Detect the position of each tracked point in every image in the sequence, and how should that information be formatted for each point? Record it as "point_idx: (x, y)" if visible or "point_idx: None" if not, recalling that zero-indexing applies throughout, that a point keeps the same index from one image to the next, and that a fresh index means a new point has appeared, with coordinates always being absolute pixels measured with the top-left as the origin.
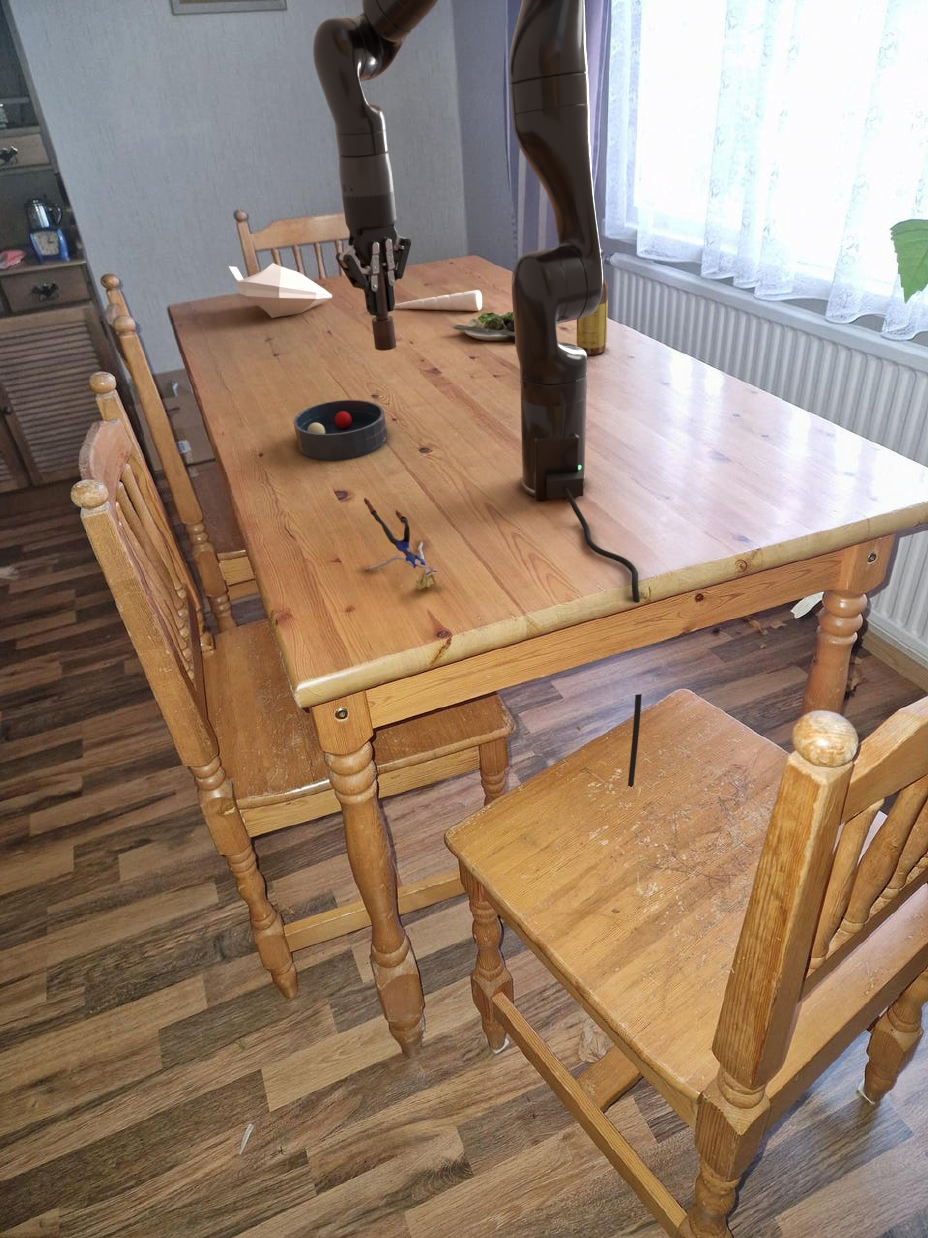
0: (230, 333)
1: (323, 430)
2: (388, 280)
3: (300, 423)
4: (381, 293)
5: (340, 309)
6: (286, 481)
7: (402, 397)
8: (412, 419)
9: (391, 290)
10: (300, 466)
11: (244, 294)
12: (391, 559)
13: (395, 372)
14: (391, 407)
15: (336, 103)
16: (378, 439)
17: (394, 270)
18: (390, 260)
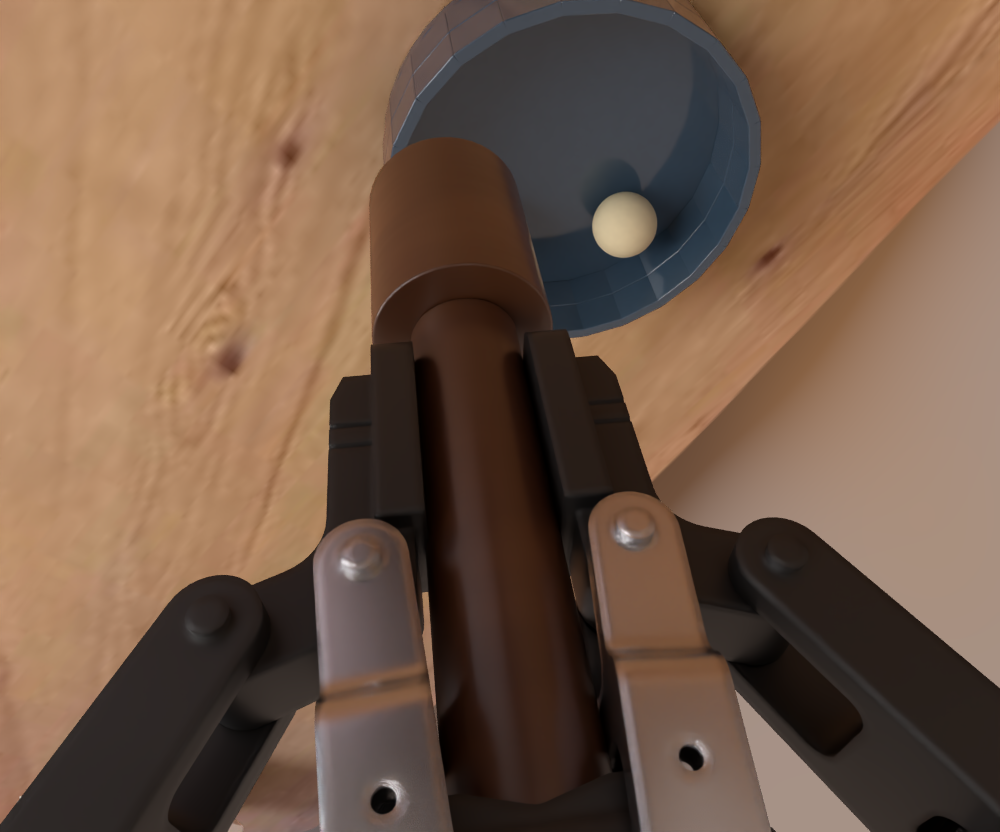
0: (307, 749)
1: (616, 204)
2: (414, 576)
3: (639, 288)
4: (517, 472)
5: (23, 759)
6: (924, 17)
7: (146, 294)
8: (224, 97)
9: (378, 482)
10: (797, 86)
11: (242, 830)
12: None
13: (64, 458)
14: (232, 254)
15: None
16: None
17: (247, 695)
18: (392, 821)
